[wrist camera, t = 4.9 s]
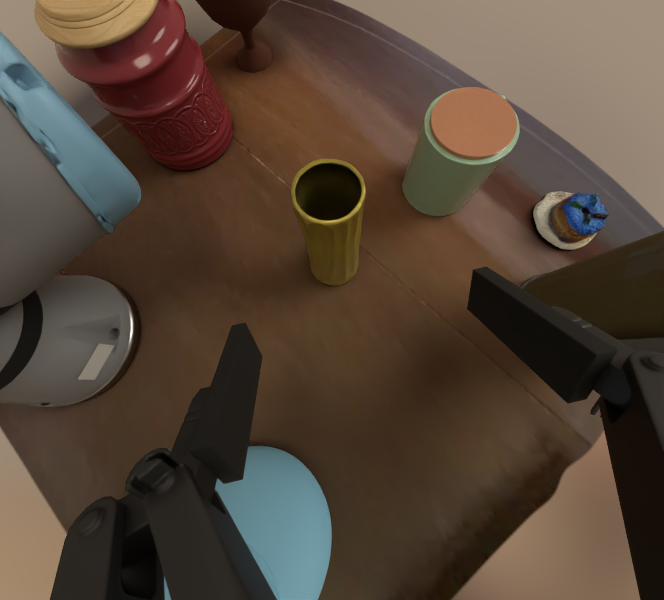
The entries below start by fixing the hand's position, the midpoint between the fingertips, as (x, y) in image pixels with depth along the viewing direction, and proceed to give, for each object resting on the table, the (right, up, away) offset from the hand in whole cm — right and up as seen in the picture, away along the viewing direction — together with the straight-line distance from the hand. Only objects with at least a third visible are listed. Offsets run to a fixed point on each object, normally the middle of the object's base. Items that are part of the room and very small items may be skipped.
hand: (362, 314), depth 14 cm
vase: (-1, +6, +17) cm, 18 cm away
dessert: (+27, +11, +17) cm, 34 cm away
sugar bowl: (-9, -22, +11) cm, 26 cm away
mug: (+13, +17, +18) cm, 28 cm away
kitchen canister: (-22, +25, +22) cm, 40 cm away
